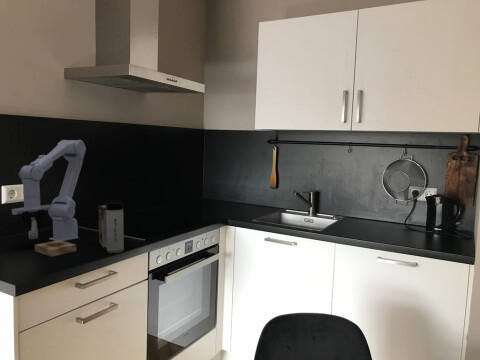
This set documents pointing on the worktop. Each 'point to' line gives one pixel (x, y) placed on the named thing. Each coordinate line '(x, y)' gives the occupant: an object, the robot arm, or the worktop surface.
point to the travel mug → (114, 226)
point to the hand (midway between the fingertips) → (33, 230)
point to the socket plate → (55, 248)
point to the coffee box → (102, 225)
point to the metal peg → (33, 229)
